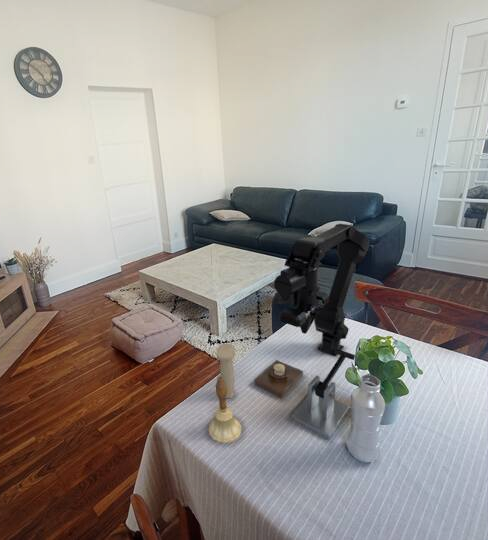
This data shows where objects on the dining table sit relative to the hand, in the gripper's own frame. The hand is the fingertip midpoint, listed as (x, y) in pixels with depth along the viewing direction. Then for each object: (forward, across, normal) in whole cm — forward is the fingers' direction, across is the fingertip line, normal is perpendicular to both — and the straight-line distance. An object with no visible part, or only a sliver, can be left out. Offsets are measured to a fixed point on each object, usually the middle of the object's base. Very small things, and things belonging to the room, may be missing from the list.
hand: (304, 332), depth 99 cm
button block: (+13, +9, -3) cm, 16 cm away
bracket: (+13, +14, +12) cm, 23 cm away
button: (+10, +9, -3) cm, 14 cm away
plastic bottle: (+13, +19, +24) cm, 33 cm away
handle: (+13, +23, -11) cm, 29 cm away
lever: (+5, +7, +12) cm, 15 cm away
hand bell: (+13, +33, -4) cm, 36 cm away
